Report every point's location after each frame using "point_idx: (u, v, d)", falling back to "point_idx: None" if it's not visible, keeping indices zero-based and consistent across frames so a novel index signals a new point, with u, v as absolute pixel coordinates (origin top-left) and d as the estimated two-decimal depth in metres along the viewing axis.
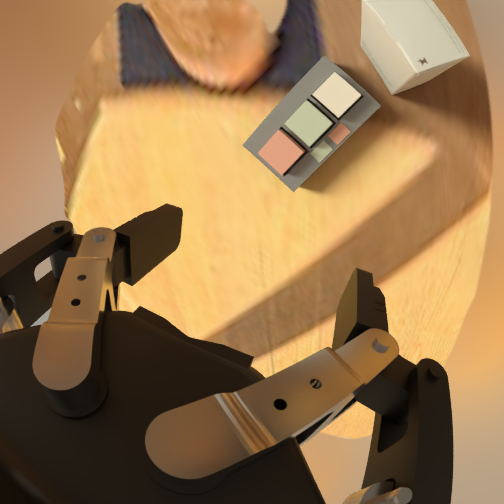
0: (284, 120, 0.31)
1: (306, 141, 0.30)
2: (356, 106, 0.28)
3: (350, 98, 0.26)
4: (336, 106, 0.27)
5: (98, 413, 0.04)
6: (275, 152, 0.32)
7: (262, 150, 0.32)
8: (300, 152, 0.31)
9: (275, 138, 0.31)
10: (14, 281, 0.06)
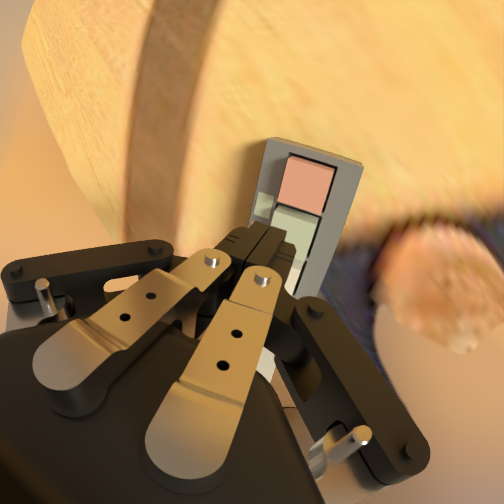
0: (323, 221, 0.26)
1: (280, 215, 0.25)
2: None
3: None
4: None
5: (98, 412, 0.04)
6: (310, 184, 0.23)
7: (328, 179, 0.22)
8: (280, 199, 0.24)
9: (319, 202, 0.23)
10: (75, 285, 0.07)
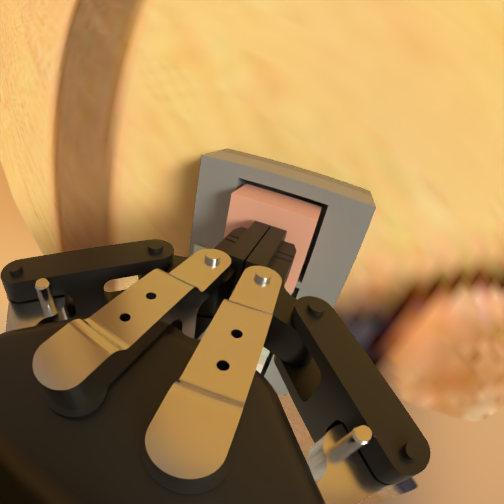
0: (300, 295, 0.15)
1: None
2: None
3: None
4: None
5: (98, 413, 0.04)
6: None
7: (308, 233, 0.12)
8: None
9: (290, 272, 0.13)
10: (75, 285, 0.07)
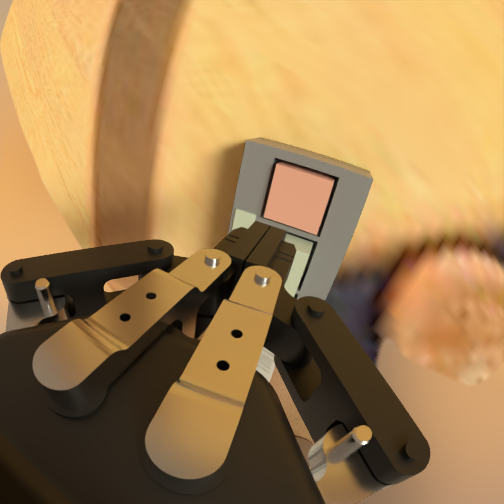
0: (318, 248, 0.20)
1: None
2: None
3: None
4: None
5: (98, 413, 0.04)
6: (304, 196, 0.18)
7: (327, 190, 0.18)
8: (267, 214, 0.20)
9: (315, 219, 0.19)
10: (75, 285, 0.07)
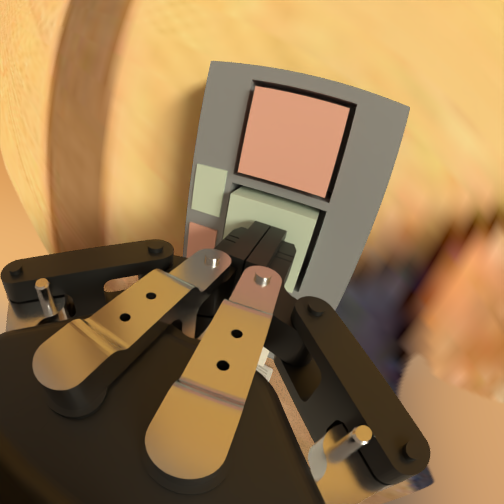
0: (328, 221, 0.12)
1: (243, 202, 0.12)
2: None
3: None
4: None
5: (98, 412, 0.04)
6: (302, 133, 0.11)
7: (340, 122, 0.10)
8: (243, 167, 0.12)
9: (322, 171, 0.11)
10: (75, 285, 0.07)
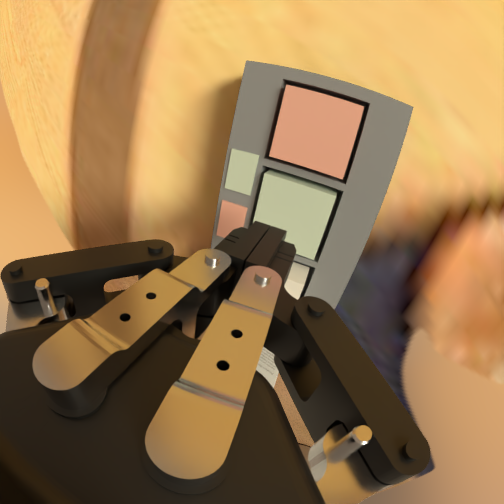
0: (344, 200, 0.14)
1: (275, 180, 0.15)
2: None
3: None
4: None
5: (98, 413, 0.04)
6: (325, 126, 0.12)
7: (356, 118, 0.12)
8: (274, 152, 0.14)
9: (340, 157, 0.13)
10: (75, 285, 0.07)
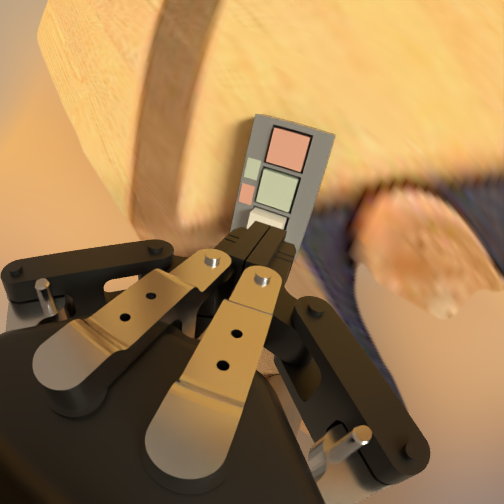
0: (302, 181, 0.30)
1: (268, 173, 0.30)
2: (246, 226, 0.35)
3: None
4: None
5: (98, 412, 0.04)
6: (291, 147, 0.28)
7: (305, 143, 0.28)
8: (268, 159, 0.30)
9: (299, 161, 0.29)
10: (75, 285, 0.07)
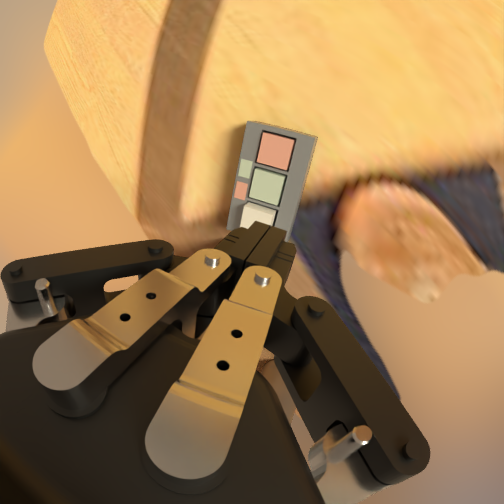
0: (288, 178, 0.35)
1: (259, 171, 0.35)
2: (241, 218, 0.40)
3: (244, 226, 0.38)
4: (250, 214, 0.37)
5: (98, 413, 0.04)
6: (278, 149, 0.33)
7: (290, 145, 0.32)
8: (258, 160, 0.35)
9: (284, 161, 0.34)
10: (75, 285, 0.07)
